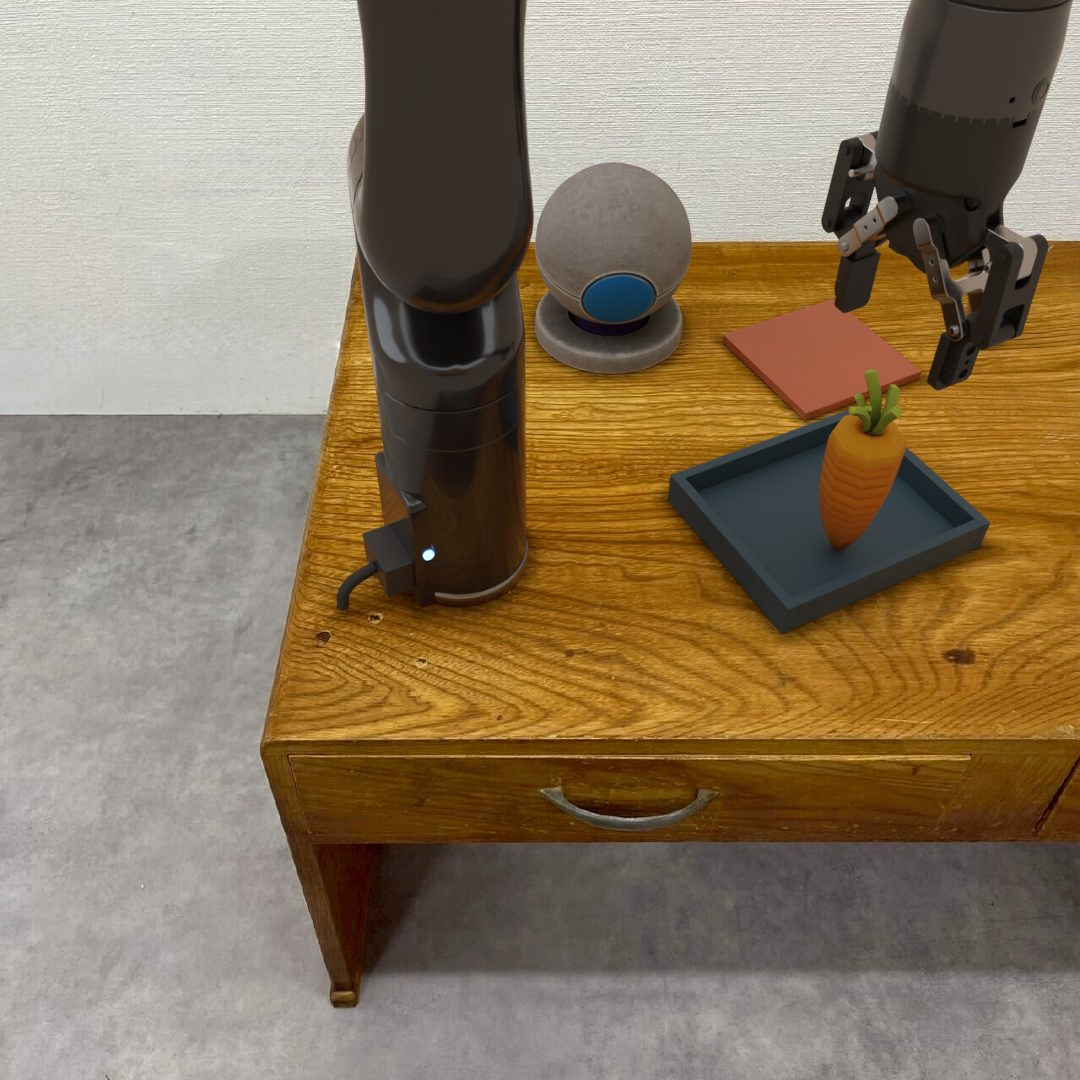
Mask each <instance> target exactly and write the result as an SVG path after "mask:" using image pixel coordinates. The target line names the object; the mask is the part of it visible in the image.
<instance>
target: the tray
mask: <svg viewBox="0 0 1080 1080" xmlns="http://www.w3.org/2000/svg"><path fill="white" fill-rule="evenodd" d="M846 415H850V413H849V409H846V410H844V411H841V412H838V413H836V414H833V415H830V416H827V417H824V418H821V419H819V420H816V421H814V422H811V423H809V424H805V425H803V426H800V427H798V428H795V429H792V430H789V431H787V432H784V433H782V434H779V435H776V436H773V437H770V438H768V439H765V440H762V441H760V442H757V443H754V444H752V445H751V444H750V445H749V446H745V447H743V448H740V449H737V450H735V451H732V452H730V453H727V454H724V455H721V456H718V457H716V458H713V459H711V460H708V461H705V462H703V463H699V464H696V465H694V466H692V467H689V468H687V469H683V470H681V471H678V472H674V473H672V474H670V476H669V478H670V479H669V486H668V492H667V493H668V494H667V501H668V502H669V504H670V505H671V506H672V507H673V508H674V509H675V510H676V512H677V513H678V514H679V515H680V517H682V518H683V520H684V521H685V522H686V524H688V526H689V527H690V528H691V529H692V531H693V532H694V533H695V534H696V535H697V536H698V537H699V539H700V540H701V541H702V542H703V543H704V544H705V546H706V547H707V548H708V549H709V550H710V552H711V553H712V554H713V555H714V556H715V557H716V558H717V559H718V561H719V562H720V563H721V564H722V566H723V567H724V568H725V569H726V570H727V571H728V572H729V574H730V576H732V577H733V578H734V580H735V581H736V582H737V583H738V584H739V585H740V586H741V588H742V589H743V590H744V592H746V594H747V595H748V596H749V597H750V599H751V600H753V602H754V603H755V604H756V605H757V606H758V608H759V609H760V610H761V611H762V612H763V613H764V614H765V616H766V617H767V618H768V619H769V620H770V622H771V623H772V624H773V625H774V627H776V629H777V630H778V631H779V632H780V633H781V634H782V635H784V634H785V633H788V632H790V631H793V630H795V629H798V628H799V627H802V626H804V625H807V624H809V623H811V622H813V621H815V620H818V619H820V618H822V617H825V616H827V615H830V614H831V613H833V612H836V611H838V610H840V609H842V608H845V607H848V606H850V605H852V604H854V603H857V602H859V601H861V600H863V599H865V598H868V597H869V596H870V597H871V596H873V595H875V594H877V593H879V592H882V591H883V590H886V589H889V588H891V587H894V586H896V585H898V584H899V583H902V582H904V581H906V580H909V579H911V578H914V577H916V576H918V575H919V574H920V575H921V574H922V573H925V572H927V571H929V570H932V569H934V568H936V567H938V566H941V565H943V564H945V563H947V562H950V561H952V560H954V559H957V558H959V557H961V556H963V555H965V554H968V553H970V552H972V551H975V550H978V549H980V548H981V547H982V544H983V542H984V539H985V537H986V535H987V532H988V530H989V527H990V525H991V521H990V520H989V519H988V518H986V517H985V516H984V515H983V514H982V513H981V512H980V511H979V510H977V509H976V508H975V506H973V505H972V504H971V503H970V502H969V501H967V499H965V498H964V497H963V496H962V495H961V494H959V492H957V491H956V489H954V488H953V487H952V486H951V485H950V484H948V483H947V482H946V481H945V480H944V479H943V478H941V476H939V475H938V474H937V473H936V472H935V471H934V470H933V469H932V468H930V466H929V465H928V464H926V463H925V462H924V461H923V460H922V459H920V457H918V455H916V454H915V453H914V452H913V451H912V450H910V449H909V448H908V447H907V446H906V450H905V453H904V456H903V459H902V461H901V464H900V467H899V470H898V472H897V475H896V477H895V480H894V482H893V485H892V487H891V490H890V492H889V494H888V495H887V497H886V499H885V501H884V502H883V504H882V506H881V507H880V509H879V511H878V512H877V514H876V515H875V517H874V518H873V520H872V521H871V523H870V524H869V526H868V528H867V529H866V531H865V532H864V533H863V534H862V535H861V536H860V537H859V538H858V539H857V540H856V541H855V542H854V543H852V544H851V545H849V546H848V547H846V548H845V549H841V550H836V549H834V548H833V547H832V546H831V544H830V542H829V540H828V538H827V535H826V533H825V530H824V528H823V524H822V520H821V516H820V499H819V496H820V478H821V472H822V466H823V460H824V456H825V451H826V447H827V442H828V438H829V436H830V434H831V433H832V431H833V430H834V428H835V427H836V426H837V424H838V423H839V422H840V420H841V419H842V418H843V417H844V416H846Z"/></svg>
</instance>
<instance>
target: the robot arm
mask: <svg viewBox="0 0 1080 1080" xmlns="http://www.w3.org/2000/svg"><path fill="white" fill-rule="evenodd" d="M355 1H356V6H357V12H358V18H359V25H360V31H361V41H362V52H363V67H364V68H363V71H364V111H363V113H362V115H361V116H360V117H359V120H358V121H357V123H356V124H355V127H354V129H353V131H352V134H351V136H350V141H349V145H348V147H347V155H346V176H347V177H346V178H347V187H348V195H349V201H350V210H351V216H352V217H351V218H352V223H353V231H354V238H355V246H356V252H357V254H356V255H357V260H358V268H359V275H360V285H361V294H362V303H363V310H364V316H365V325H366V331H367V340H368V345H369V352H370V358H371V365H372V372H373V379H374V387H375V388H374V389H375V396H376V404H377V411H378V419H379V426H380V428H379V429H380V434H381V442H382V450H379V451H377V452H376V453H375V454H374V461H375V462H374V463H375V471H376V476H377V477H376V478H377V484H378V485H377V486H378V491H379V499H380V506H381V513H382V520H383V525H382V526H379V527H377V528H373V529H370V530H368V531H365V532H362V539H363V546H364V551H365V558H366V561H367V562H368V563H366V564H365V565H363V566H361V567H360V568H359V569H357V570H355V571H354V572H353V573H351V574H350V575H349V576H348V577H346V578H345V580H343V582H342V583H341V585H340V586H339V588H338V590H337V594H336V608H337V609H338V610H339V611H347V610H349V609H350V596H351V594H352V592H353V591H354V589H356V588H357V587H358V586H359V585H361V584H362V583H363V582H364V581H367V580H368V579H369V578H371V577H372V576H374V575H375V577H376V579H377V580H378V582H379V584H380V586H381V587H382V589H383V591H384V592H385V595H386V596H387V598H389V599H390V598H392V597H395V596H398V595H401V594H403V593H406V592H409V591H410V593H411V595H412V597H413V598H414V600H415V601H416V603H417V605H418V606H419V607H426V606H428V605H431V604H441V605H448V606H471V605H477V604H482V603H485V602H488V601H491V600H493V599H496V598H498V597H499V596H502V595H503V594H505V593H506V592H508V591H509V590H510V589H512V588H513V587H514V586H515V585H516V584H517V583H518V582H519V580H520V579H521V578H522V576H523V574H524V573H525V570H526V568H527V566H528V560H529V541H528V529H527V432H526V431H527V429H526V428H527V425H526V424H527V422H526V421H527V420H526V418H527V411H526V410H527V409H526V407H527V406H526V403H527V401H526V400H527V399H526V397H527V395H526V393H527V392H526V391H527V389H526V327H525V320H524V312H523V306H522V300H521V294H520V285H519V277H518V271H519V270H520V268H521V266H522V264H523V262H524V259H525V258H526V256H527V253H528V250H529V247H530V243H531V240H532V236H533V233H534V224H535V223H534V222H535V210H534V197H533V188H532V186H533V185H532V177H531V175H532V174H531V166H530V165H531V164H530V152H529V138H528V137H529V135H528V133H529V132H528V119H527V117H528V115H527V101H526V78H525V77H526V75H525V71H526V70H525V69H526V67H525V46H526V45H525V43H526V42H525V40H526V21H527V20H526V19H527V9H528V7H527V6H528V0H355ZM1073 2H1074V0H910V2H909V5H908V8H907V10H906V13H905V15H904V19H903V23H902V28H901V30H900V35H899V39H898V44H897V48H896V53H895V56H894V57H895V58H894V61H893V66H892V69H891V75H890V79H889V82H888V83H889V84H888V88H887V92H886V95H885V96H886V97H885V101H884V105H883V110H882V114H881V118H880V123H879V129H878V130H875V131H872V132H867V133H864V134H860V135H857V136H854V137H850V138H846V139H843V140H841V142H840V144H839V147H838V151H837V154H836V159H835V163H834V165H833V166H834V167H833V171H832V175H831V179H830V183H829V187H828V191H827V195H826V198H825V203H824V207H823V210H822V215H821V219H820V221H821V227H822V230H823V231H824V232H826V233H827V234H832V233H833V234H834V235H835V236H836V238H837V239H838V241H837V250H838V253H839V254H840V258H839V259H840V260H839V265H838V268H837V274H836V279H835V282H834V296H835V298H834V300H835V302H834V305H835V307H836V308H837V309H839V310H840V311H841V312H842V313H847V312H850V313H851V312H853V311H856V310H859V309H861V308H864V307H866V305H867V304H868V303H869V302H870V300H871V295H872V291H873V287H874V283H875V280H876V279H875V278H876V275H877V271H878V267H879V262H880V258H881V256H882V254H881V252H880V251H878V250H877V249H876V248H879V247H881V246H883V245H884V244H886V242H889V243H888V246H887V247H888V248H890V250H891V251H893V252H894V253H896V254H898V255H900V256H903V257H906V258H908V260H909V261H910V262H911V263H912V264H913V266H914V267H915V268H916V269H917V270H919V271H920V272H921V273H923V274H924V275H925V276H926V280H927V284H928V288H929V294H930V297H931V298H932V299H933V300H934V301H936V302H938V303H939V305H940V309H941V313H942V318H943V323H944V329H945V331H944V332H941V334H940V337H939V340H938V344H937V346H936V350H935V351H934V352H935V353H934V355H933V359H932V362H931V365H930V369H929V372H928V376H927V378H926V383H927V384H928V385H929V386H930V387H931V388H933V389H934V391H942V390H944V389H947V388H949V387H952V386H954V385H957V384H960V383H962V382H965V381H967V380H968V379H969V378H970V377H971V375H972V374H973V370H974V367H975V364H976V361H977V359H978V355H979V353H980V351H985V350H988V349H989V348H992V347H994V346H996V345H998V344H1001V343H1004V342H1007V341H1011V340H1014V339H1017V338H1020V337H1021V336H1022V335H1023V332H1024V330H1025V327H1026V322H1027V320H1028V316H1029V313H1030V310H1031V306H1032V304H1033V300H1034V297H1035V294H1036V291H1037V288H1038V284H1039V281H1040V277H1041V275H1042V272H1043V268H1044V265H1045V261H1046V259H1047V255H1048V252H1049V251H1048V249H1049V243H1048V240H1047V238H1046V237H1045V236H1044V235H1042V234H1041V233H1036V234H1033V235H1030V236H1026V237H1025V236H1023V235H1020V234H1018V233H1017V232H1015V231H1014V230H1012V229H1010V228H1008V227H1006V226H1005V218H1004V203H1005V200H1006V198H1007V196H1008V194H1009V193H1010V192H1011V190H1012V188H1013V187H1014V185H1015V184H1016V182H1017V181H1018V179H1019V178H1020V176H1021V174H1022V172H1023V169H1024V166H1025V165H1026V160H1027V157H1028V154H1029V151H1030V148H1031V145H1032V142H1033V140H1034V136H1035V133H1036V130H1037V127H1038V124H1039V121H1040V118H1041V116H1042V112H1043V109H1044V106H1045V103H1046V101H1047V97H1048V94H1049V92H1050V88H1051V85H1052V82H1053V80H1054V77H1055V73H1056V71H1057V67H1058V64H1059V61H1060V59H1061V56H1062V52H1063V49H1064V45H1065V41H1066V36H1067V32H1068V25H1069V22H1070V21H1069V20H1070V15H1071V10H1072V6H1073ZM874 190H875V194H876V198H877V203H876V205H875V207H873V208H872V209H871V210H869V209H870V205H871V201H872V198H873V194H874ZM848 201H849V202H848ZM847 202H848V205H847ZM846 205H847V206H846ZM966 262H967V265H968V270H967V273H966V275H964V276H963V277H960V278H957V279H953V278H952V276H951V272H950V270H952V269H955V268H958V267H961V265H963V264H964V263H966ZM965 294H967V299H968V298H969V303H970V308H971V313H969V314H965V311H966V309H965V305H964V301H963V297H964V296H965Z"/></svg>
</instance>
